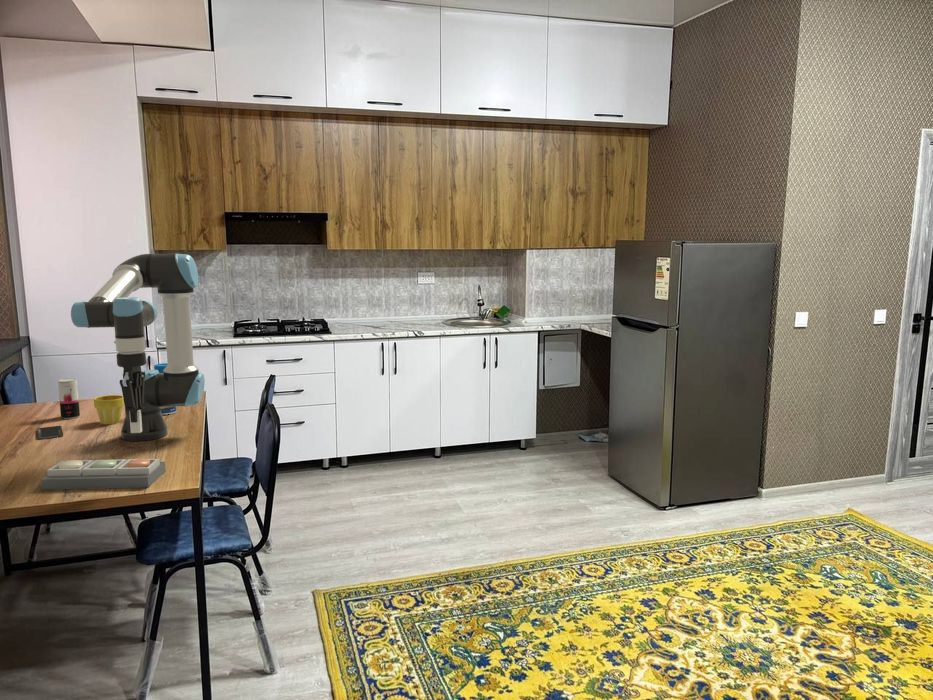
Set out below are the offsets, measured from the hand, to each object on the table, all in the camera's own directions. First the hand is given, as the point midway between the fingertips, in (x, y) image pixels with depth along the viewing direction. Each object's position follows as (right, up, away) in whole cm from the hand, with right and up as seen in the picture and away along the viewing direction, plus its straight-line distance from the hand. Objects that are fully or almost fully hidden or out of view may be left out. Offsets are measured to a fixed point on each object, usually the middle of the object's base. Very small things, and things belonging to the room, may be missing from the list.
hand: (136, 432), depth 202 cm
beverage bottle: (-26, -2, +81) cm, 85 cm away
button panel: (-9, -14, +1) cm, 17 cm away
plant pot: (-41, -4, +66) cm, 78 cm away
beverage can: (-61, -3, +74) cm, 96 cm away
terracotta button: (0, -11, +2) cm, 11 cm away
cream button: (-19, -11, 0) cm, 22 cm away
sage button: (-10, -11, +1) cm, 14 cm away
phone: (-55, -7, +50) cm, 75 cm away
